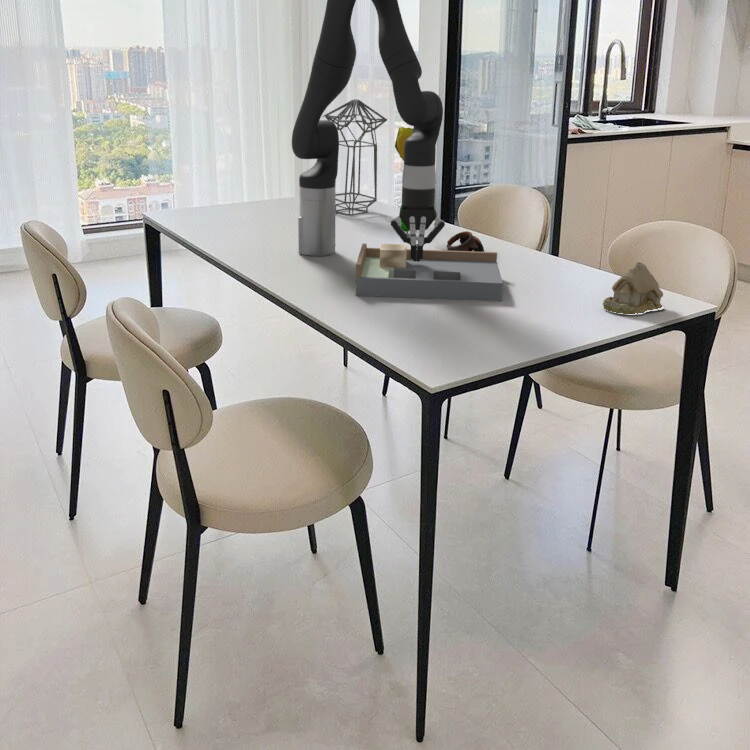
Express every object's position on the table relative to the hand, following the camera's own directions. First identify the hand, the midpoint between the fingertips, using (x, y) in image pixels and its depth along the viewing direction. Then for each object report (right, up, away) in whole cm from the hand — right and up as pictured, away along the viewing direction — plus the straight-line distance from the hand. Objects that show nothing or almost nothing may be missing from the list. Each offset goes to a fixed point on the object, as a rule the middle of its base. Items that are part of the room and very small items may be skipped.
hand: (416, 260), depth 195 cm
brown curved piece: (+14, +3, +23) cm, 27 cm away
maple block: (-5, -1, 0) cm, 5 cm away
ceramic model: (+46, -12, -14) cm, 49 cm away
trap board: (+3, -6, -2) cm, 7 cm away
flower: (0, +14, +49) cm, 51 cm away
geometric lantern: (-16, +26, +76) cm, 82 cm away
